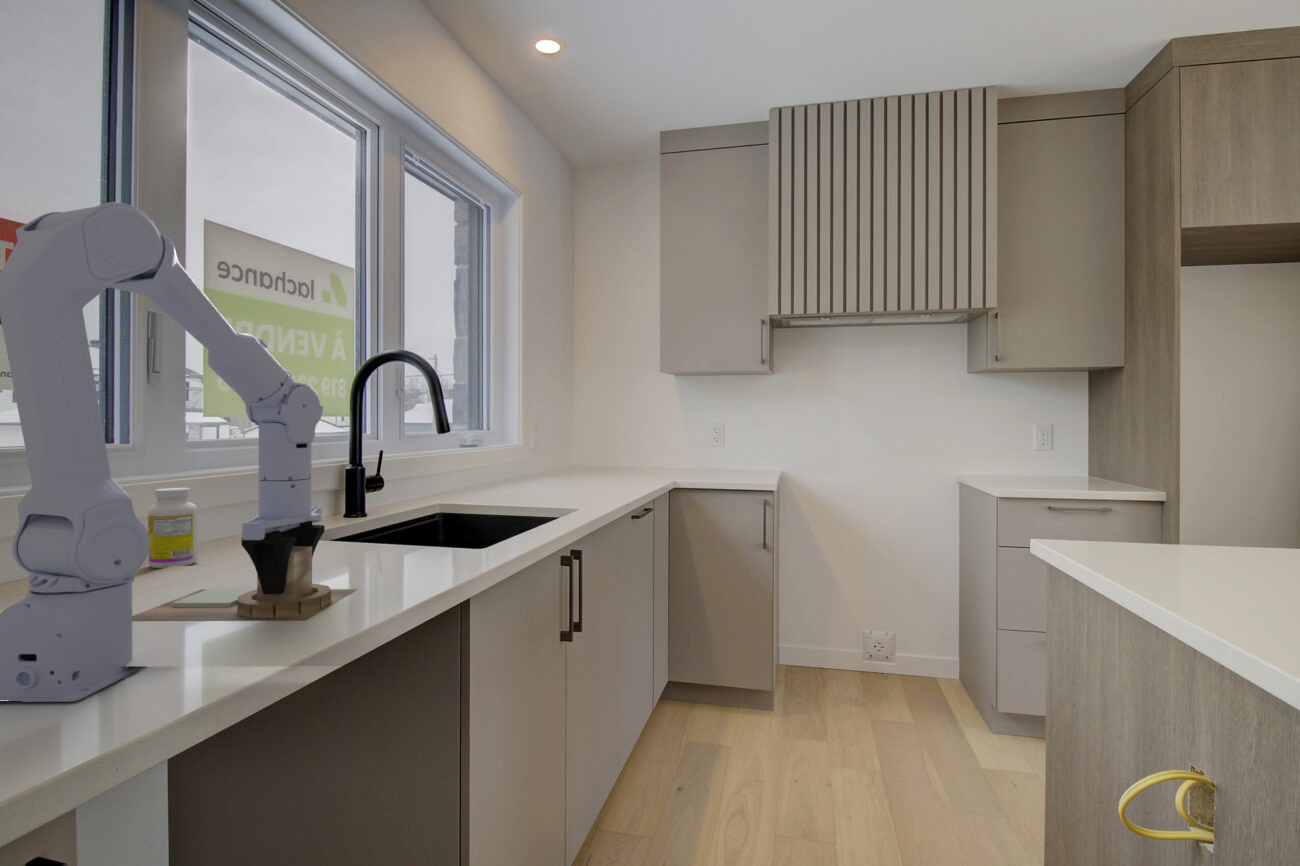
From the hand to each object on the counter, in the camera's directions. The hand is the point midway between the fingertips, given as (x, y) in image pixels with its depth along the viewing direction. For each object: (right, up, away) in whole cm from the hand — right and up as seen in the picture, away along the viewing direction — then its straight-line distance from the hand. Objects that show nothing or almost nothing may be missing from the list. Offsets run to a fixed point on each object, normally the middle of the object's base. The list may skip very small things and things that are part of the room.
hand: (285, 588), depth 80 cm
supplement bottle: (-35, -3, +28) cm, 45 cm away
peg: (0, -2, 0) cm, 2 cm away
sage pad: (-10, -2, +3) cm, 11 cm away
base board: (-5, -3, +1) cm, 6 cm away
